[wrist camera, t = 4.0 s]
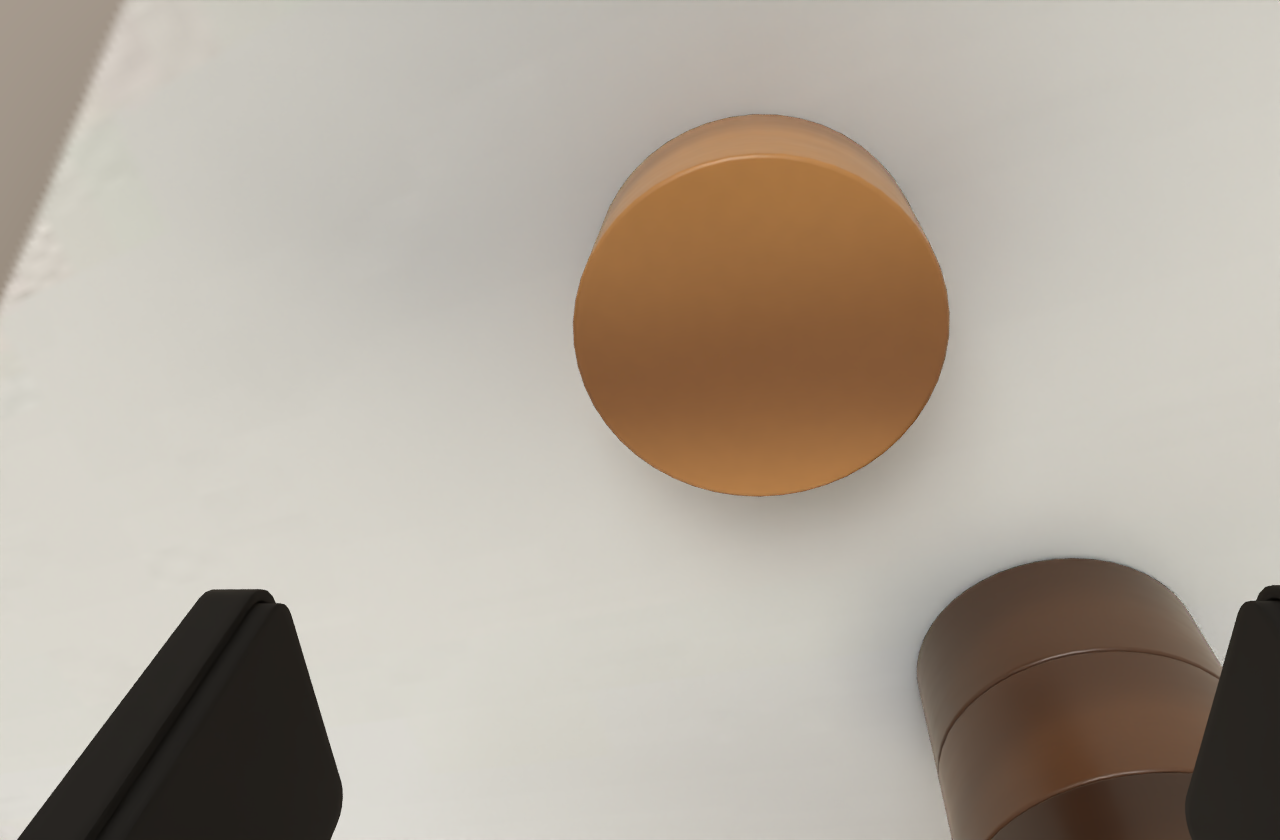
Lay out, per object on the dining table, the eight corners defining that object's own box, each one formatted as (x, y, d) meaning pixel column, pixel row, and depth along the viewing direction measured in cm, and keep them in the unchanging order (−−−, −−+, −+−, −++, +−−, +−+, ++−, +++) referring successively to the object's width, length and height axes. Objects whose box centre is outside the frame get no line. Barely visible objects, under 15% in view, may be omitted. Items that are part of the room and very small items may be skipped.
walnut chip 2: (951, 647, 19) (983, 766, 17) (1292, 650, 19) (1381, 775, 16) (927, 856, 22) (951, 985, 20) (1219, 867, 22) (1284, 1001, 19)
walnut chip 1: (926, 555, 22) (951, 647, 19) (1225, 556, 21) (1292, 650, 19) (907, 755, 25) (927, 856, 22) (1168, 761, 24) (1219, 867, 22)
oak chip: (580, 122, 18) (553, 162, 15) (933, 104, 17) (968, 143, 15) (608, 422, 21) (589, 499, 18) (910, 418, 20) (934, 497, 18)
